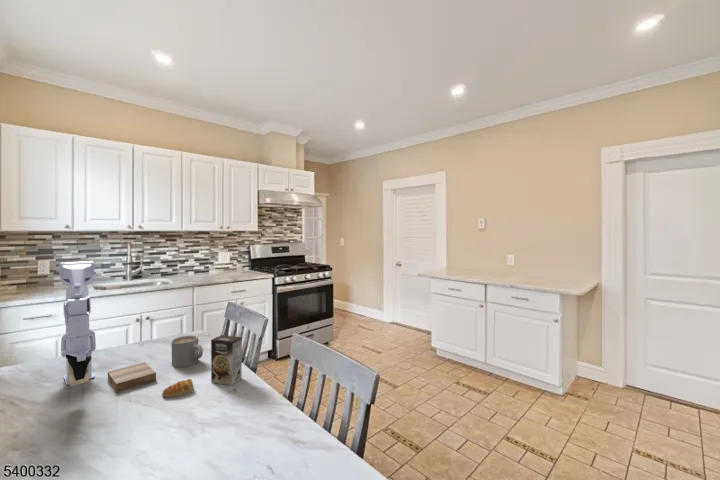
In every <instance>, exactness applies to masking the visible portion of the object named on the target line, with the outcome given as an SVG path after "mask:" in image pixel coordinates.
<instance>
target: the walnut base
mask: <svg viewBox="0 0 720 480" xmlns="http://www.w3.org/2000/svg"><path fill="white" fill-rule="evenodd" d="M107 380H108V382H109V384H110V385H111V386H112V388H113V389H114V391H115V393H119V392H123V391H127V390H129V389H134V388H135V387H139V386H143V385H145V384H146V385H147V384H150V383H154V382H156V381H157V372H156V371H155V370H154V369H153V368H152V367H151V366H149V365H148V363H146V361H143V362H141V363H140V362H139V363H137V364H132V365H129V366H125V367H121V368H116V369H114V370H109V371H107Z"/></svg>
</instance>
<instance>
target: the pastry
mask: <svg viewBox="0 0 720 480" xmlns="http://www.w3.org/2000/svg"><path fill="white" fill-rule="evenodd" d="M194 390H195V385H194V384H193V380H192V378H188V379H186V380H180V381H178V382H175V383H174V384H172V385H169V386H168V387H167V388H164V389H163V390H162V397H165V398H168V399H169V398H176V397H181V396H184V395H188V394H191V393H193V392H194Z"/></svg>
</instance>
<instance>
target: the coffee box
mask: <svg viewBox="0 0 720 480" xmlns="http://www.w3.org/2000/svg"><path fill="white" fill-rule="evenodd" d="M210 340H211V342H210V350H211V351H210V353H211V354H210V357H211V358H210V360H211V361H210V362H211V364H210V365H211V366H210V368H211V369H210V371H211V372H210V374H211V375H210V377H211V380H210V381H211V384H212V383H213V384H220V385H226V386H233V385H235V384H236V383H238V382H239V381H240V380H241V379H242V377H243V376H242V373H243V372H242V369H243V368H242V366H243V365H242V364H243V363H242V361H243V358H242V357H243V356H242V354H243V349H242V348H243V336H234V335H225V334H221V335H218V336H216V337H214V338H212V339H210Z"/></svg>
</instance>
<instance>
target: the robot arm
mask: <svg viewBox="0 0 720 480" xmlns="http://www.w3.org/2000/svg"><path fill="white" fill-rule="evenodd" d="M59 278H60V279H59V280H60V283H61V285H63V286H67V288H66V291H65V301H63V317H64V323H65V333H64V334H63V335H62V336H61V339H60V340H61V341H60V355H61V357H63V358H65V362H66V363H65V368H66V374H65V375H63V380H64V382H65V385H67V386H68V385H70V384H69V376H68V363H69V364H70V365H71V367H72V369H73V373H74V377H75V380H76V381H77V380H81V379H84V378H85V374H86V370H87V366H88V364H89V380H92V379H94V378H95V377H96V376H95V374H94V373H93V370H92V369H93V366H92V364H93V363H92V354H93V352H95V351H96V350H97V342H96V340H97V339H96V332H95V330H93V329H91V328H90V314H91V312H92V309H91V308H92V307H91V305H92V303H91V297H90V295H89V287H88V285H89V284H91V283H93V282H94V280H95V261H94V260H90V261H71V262H70V261H68V262H63V261H62V262H60V263H59Z"/></svg>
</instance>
